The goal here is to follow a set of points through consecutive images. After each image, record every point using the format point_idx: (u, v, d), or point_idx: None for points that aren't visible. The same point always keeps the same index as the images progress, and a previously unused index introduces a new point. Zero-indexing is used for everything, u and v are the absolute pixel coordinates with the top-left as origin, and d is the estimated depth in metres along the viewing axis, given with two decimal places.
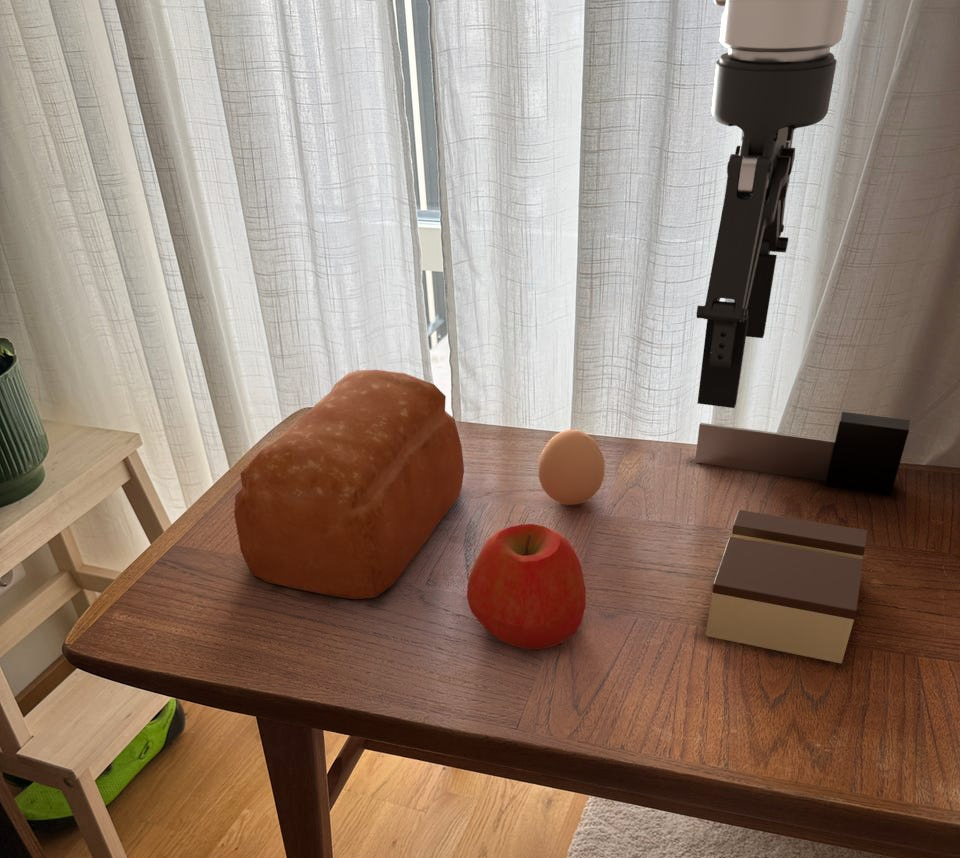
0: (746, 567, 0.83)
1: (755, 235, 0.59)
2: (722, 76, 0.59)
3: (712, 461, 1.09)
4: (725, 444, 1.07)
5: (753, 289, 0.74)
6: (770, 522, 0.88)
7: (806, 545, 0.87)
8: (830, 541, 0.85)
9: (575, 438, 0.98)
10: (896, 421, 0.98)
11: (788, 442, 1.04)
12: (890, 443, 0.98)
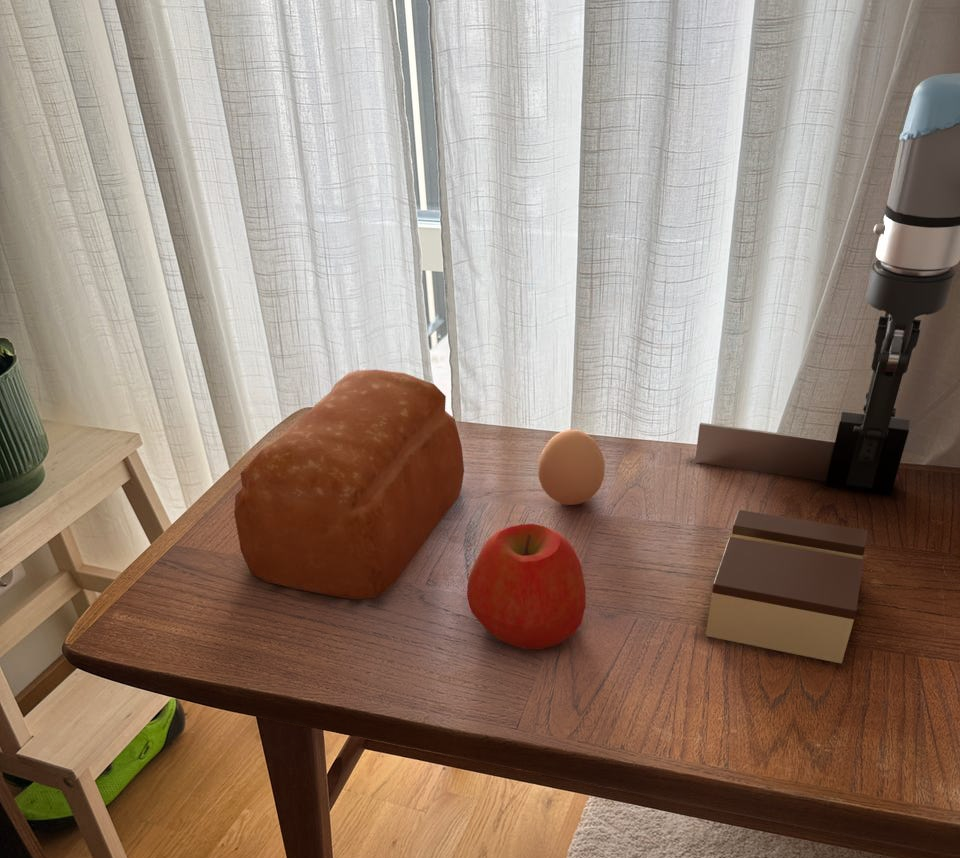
0: (746, 567, 0.83)
1: (896, 396, 0.91)
2: (878, 280, 0.88)
3: (712, 461, 1.09)
4: (726, 444, 1.07)
5: None
6: (770, 522, 0.88)
7: (806, 545, 0.87)
8: (830, 541, 0.85)
9: (575, 438, 0.98)
10: (896, 421, 0.98)
11: (788, 442, 1.04)
12: (890, 443, 0.98)
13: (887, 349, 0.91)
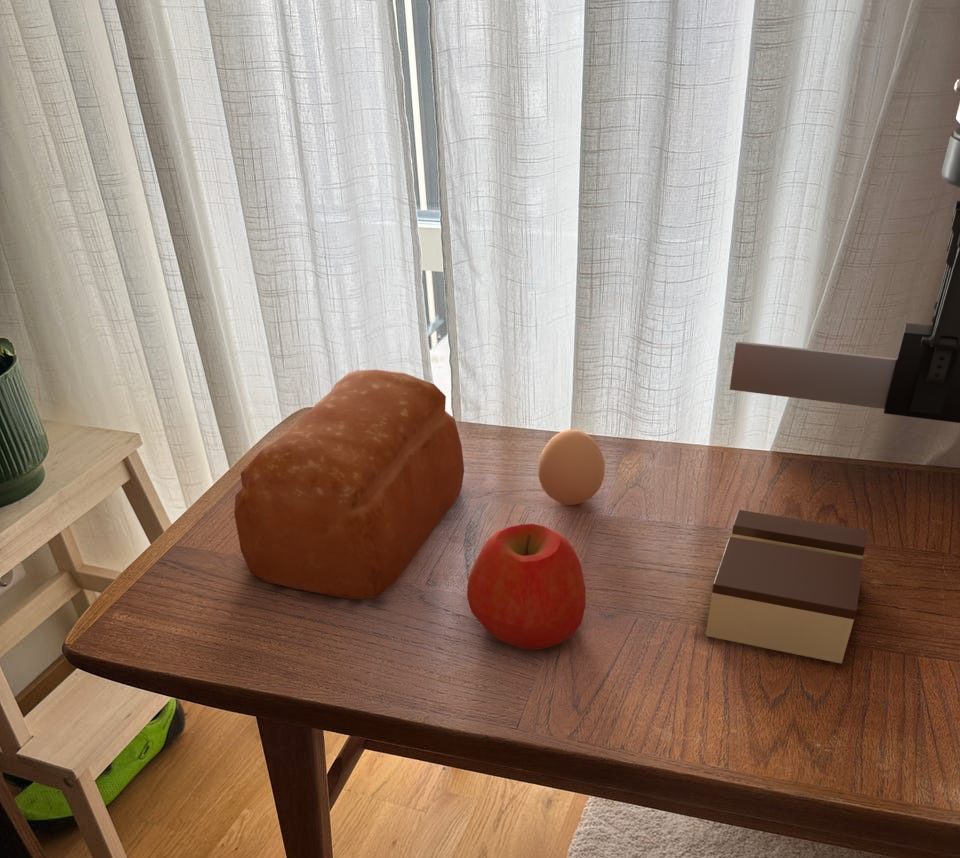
0: (746, 567, 0.83)
1: None
2: (959, 148, 0.73)
3: (750, 388, 0.93)
4: (766, 367, 0.91)
5: None
6: (770, 522, 0.88)
7: (806, 545, 0.87)
8: (830, 541, 0.85)
9: (575, 438, 0.98)
10: None
11: (840, 362, 0.88)
12: None
13: None
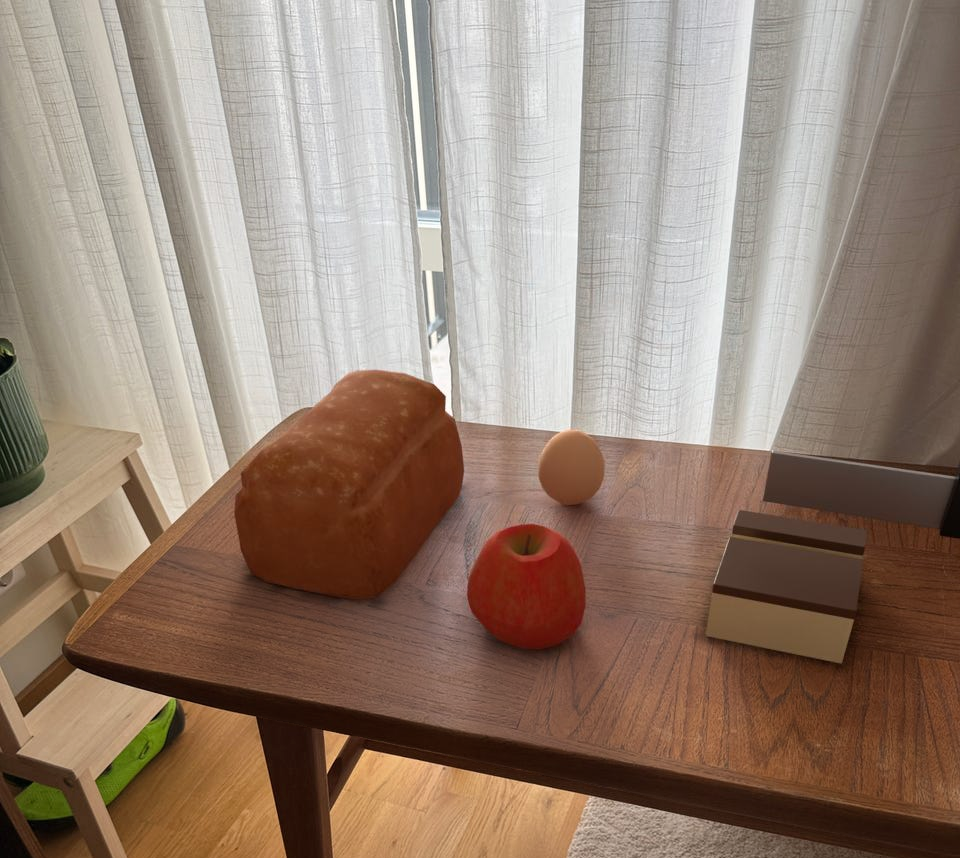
0: (746, 567, 0.83)
1: None
2: None
3: (786, 500, 0.83)
4: (805, 479, 0.81)
5: None
6: (770, 522, 0.88)
7: (806, 545, 0.87)
8: (830, 541, 0.85)
9: (575, 438, 0.98)
10: None
11: (891, 478, 0.78)
12: None
13: None
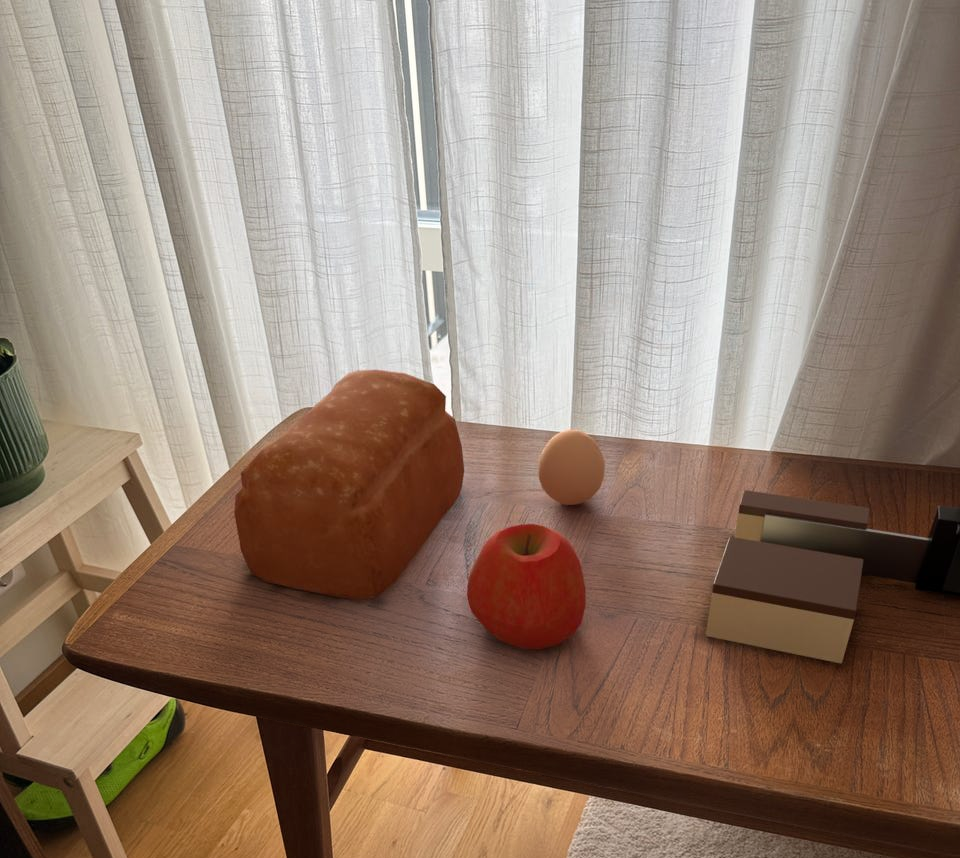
0: (746, 567, 0.83)
1: None
2: None
3: None
4: (795, 538, 0.90)
5: None
6: (775, 501, 0.91)
7: None
8: (834, 518, 0.88)
9: (575, 438, 0.98)
10: None
11: (872, 538, 0.88)
12: None
13: None
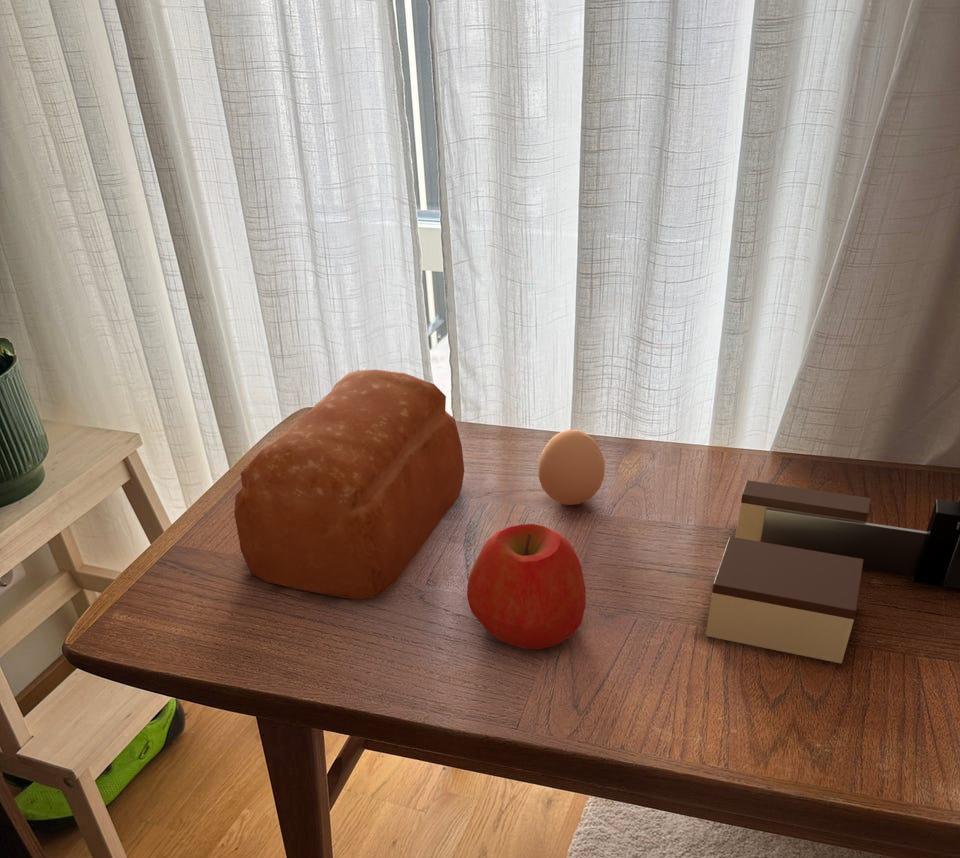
0: (746, 567, 0.83)
1: None
2: None
3: None
4: (796, 532, 0.92)
5: None
6: (777, 491, 0.92)
7: (812, 512, 0.91)
8: (835, 508, 0.90)
9: (575, 438, 0.98)
10: None
11: (871, 532, 0.89)
12: None
13: None
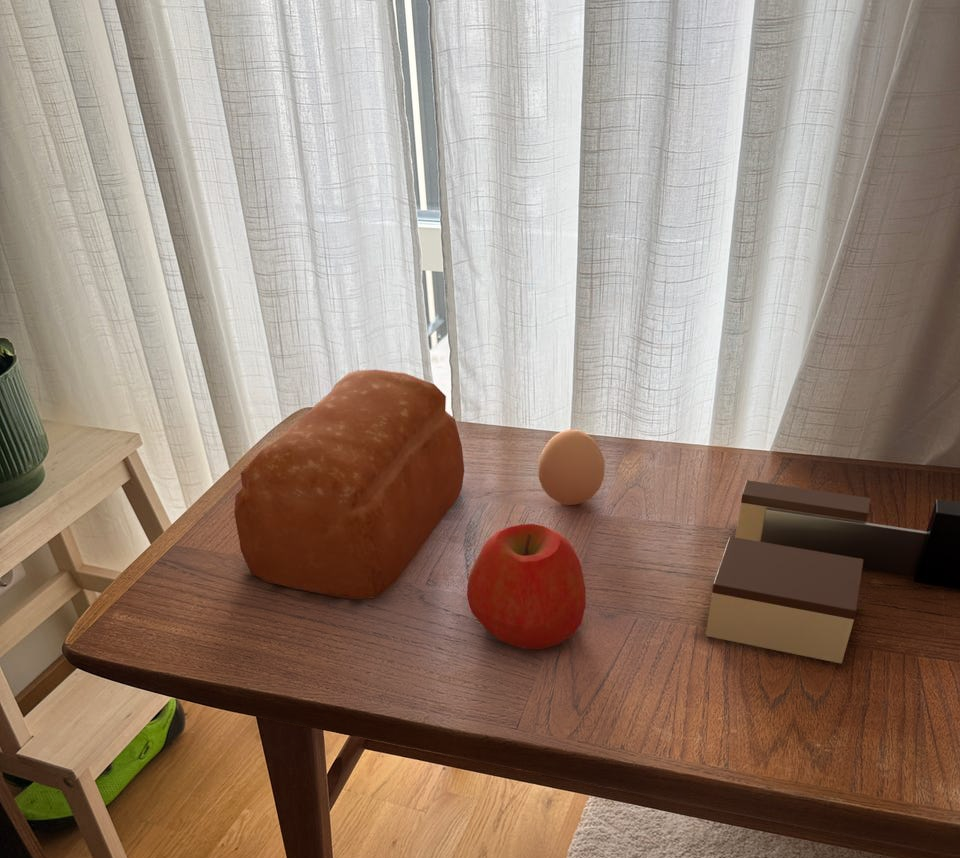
0: (746, 567, 0.83)
1: None
2: None
3: None
4: (796, 532, 0.92)
5: None
6: (777, 491, 0.92)
7: (812, 512, 0.91)
8: (835, 508, 0.90)
9: (575, 438, 0.98)
10: None
11: (871, 532, 0.89)
12: None
13: None
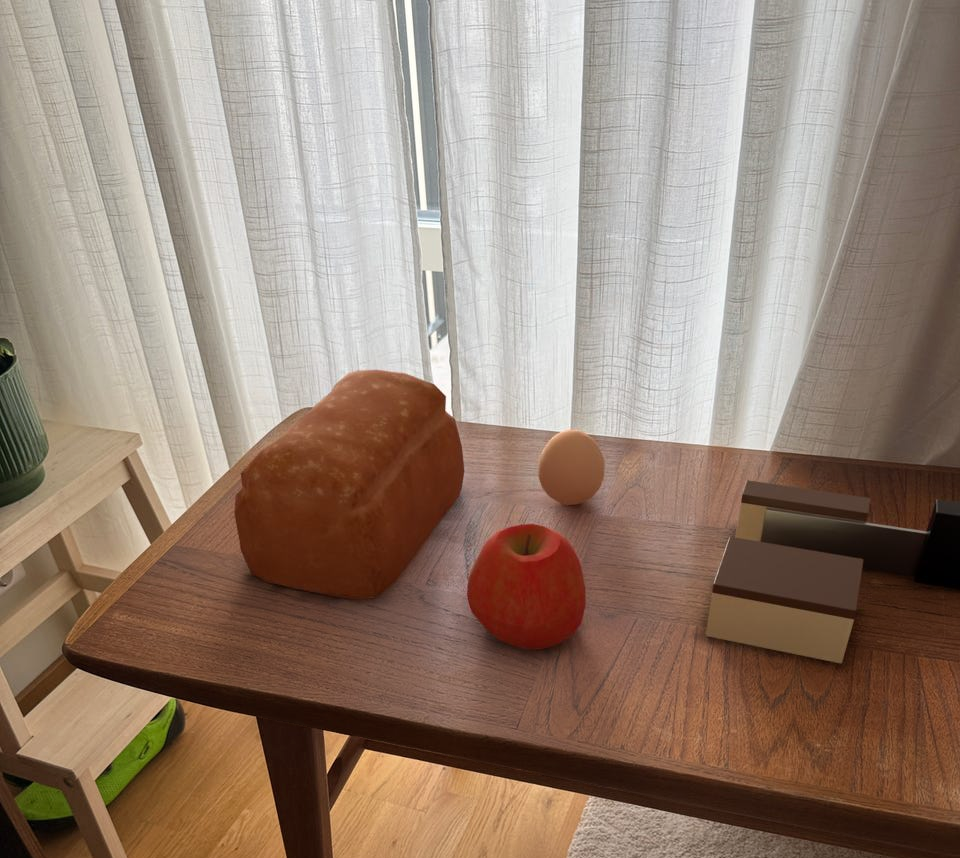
0: (746, 567, 0.83)
1: None
2: None
3: None
4: (796, 532, 0.92)
5: None
6: (777, 491, 0.92)
7: (812, 512, 0.91)
8: (835, 508, 0.90)
9: (575, 438, 0.98)
10: None
11: (871, 532, 0.89)
12: None
13: None
